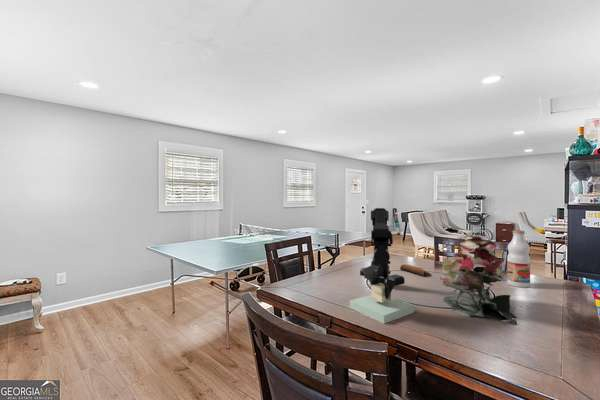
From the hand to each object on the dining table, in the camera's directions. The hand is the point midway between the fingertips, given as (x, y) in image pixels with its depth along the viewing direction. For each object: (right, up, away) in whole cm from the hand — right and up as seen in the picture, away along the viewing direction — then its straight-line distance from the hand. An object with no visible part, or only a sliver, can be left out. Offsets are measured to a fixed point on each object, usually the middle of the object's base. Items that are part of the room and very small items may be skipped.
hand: (381, 296), depth 117 cm
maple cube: (0, -1, 0) cm, 1 cm away
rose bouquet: (+39, -5, +2) cm, 40 cm away
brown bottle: (+37, -5, +56) cm, 67 cm away
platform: (0, -6, 0) cm, 6 cm away
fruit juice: (+79, -5, +30) cm, 85 cm away
